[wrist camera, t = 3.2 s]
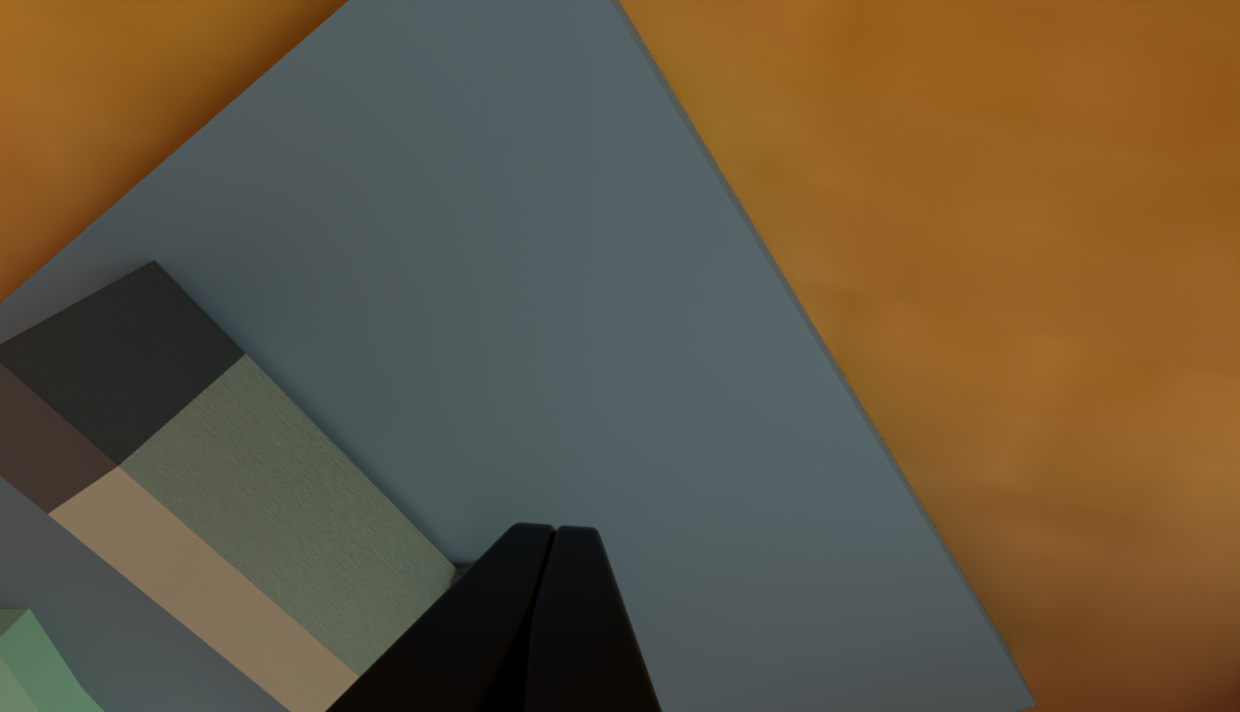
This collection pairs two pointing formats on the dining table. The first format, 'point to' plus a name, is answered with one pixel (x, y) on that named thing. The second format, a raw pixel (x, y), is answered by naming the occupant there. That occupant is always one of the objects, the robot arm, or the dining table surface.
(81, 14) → the dining table surface
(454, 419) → the board
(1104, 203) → the dining table surface
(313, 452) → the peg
